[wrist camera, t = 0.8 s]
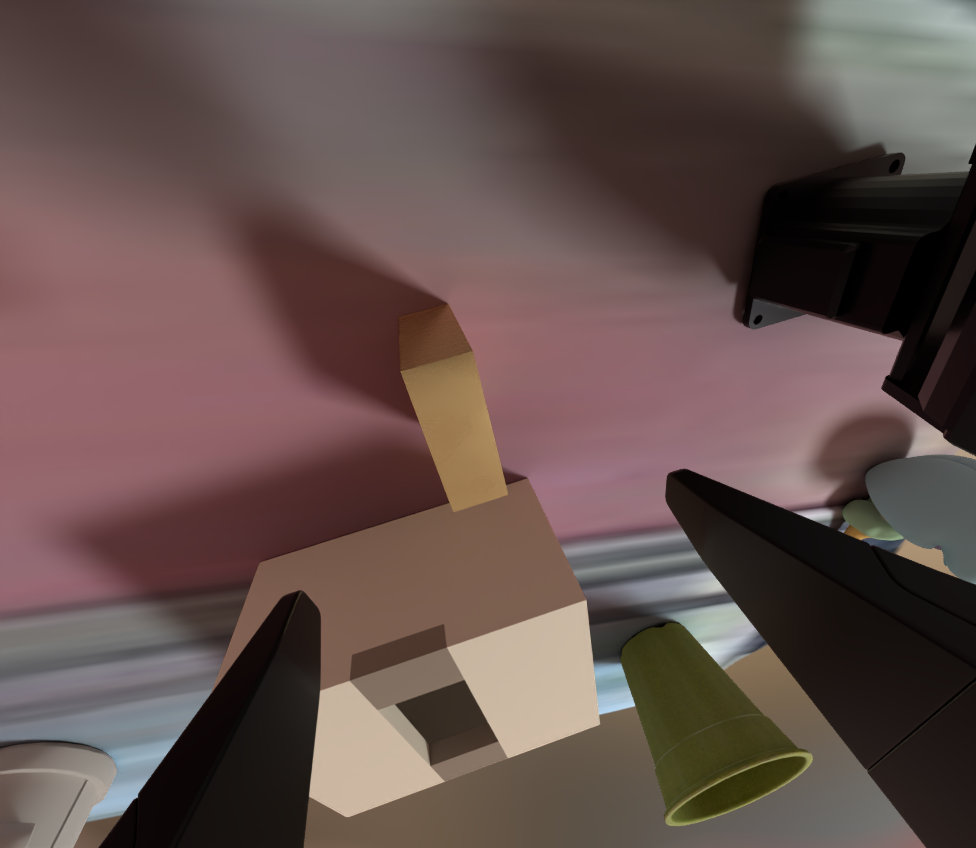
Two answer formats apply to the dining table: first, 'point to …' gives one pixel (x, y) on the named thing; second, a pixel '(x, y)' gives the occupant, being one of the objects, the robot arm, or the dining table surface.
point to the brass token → (450, 406)
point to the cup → (50, 792)
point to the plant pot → (703, 729)
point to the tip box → (435, 646)
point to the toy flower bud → (922, 507)
